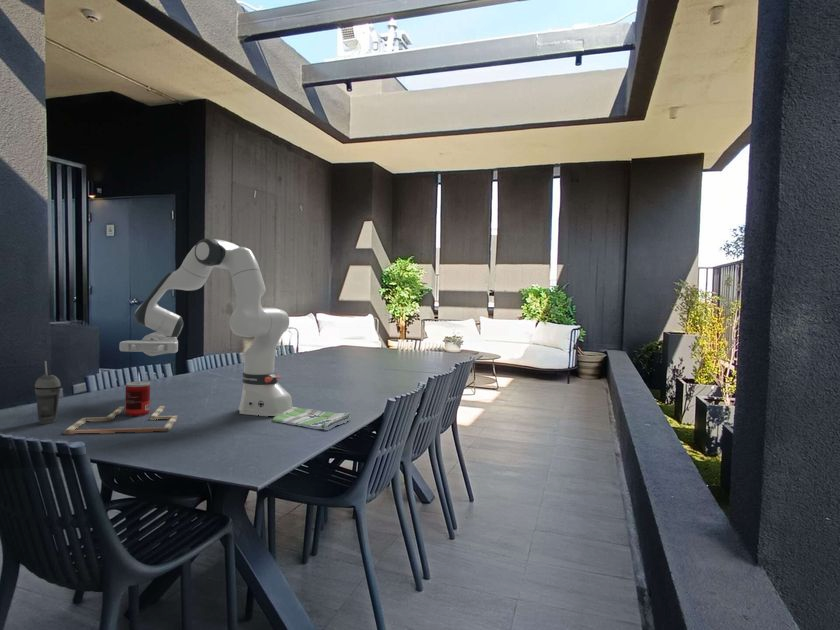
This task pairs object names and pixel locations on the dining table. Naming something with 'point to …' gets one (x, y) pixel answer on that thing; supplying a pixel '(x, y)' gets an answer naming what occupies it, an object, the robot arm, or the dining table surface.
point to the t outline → (153, 417)
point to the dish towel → (303, 418)
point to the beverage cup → (47, 397)
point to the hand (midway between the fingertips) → (145, 348)
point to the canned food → (137, 398)
